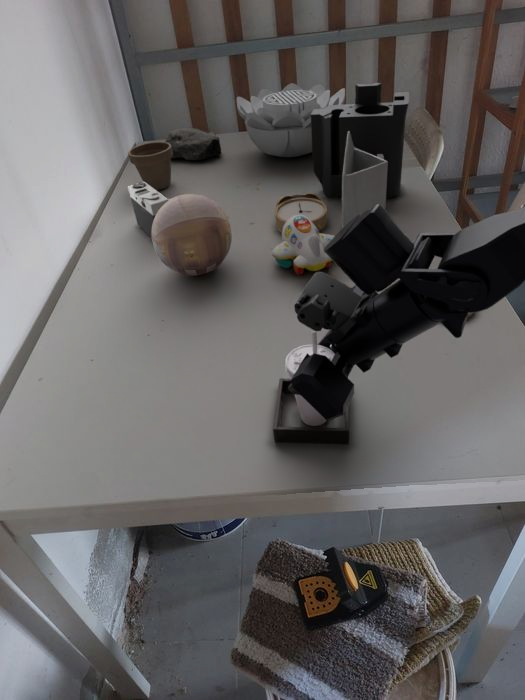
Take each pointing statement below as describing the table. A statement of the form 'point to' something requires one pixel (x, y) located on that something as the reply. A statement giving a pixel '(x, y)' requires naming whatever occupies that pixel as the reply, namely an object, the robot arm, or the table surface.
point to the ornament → (191, 234)
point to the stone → (193, 144)
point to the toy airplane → (302, 245)
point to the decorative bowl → (285, 118)
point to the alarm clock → (301, 209)
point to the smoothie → (291, 366)
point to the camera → (146, 204)
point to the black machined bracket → (359, 136)
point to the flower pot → (153, 163)
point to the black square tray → (306, 433)
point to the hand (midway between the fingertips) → (301, 373)
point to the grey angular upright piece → (362, 182)
